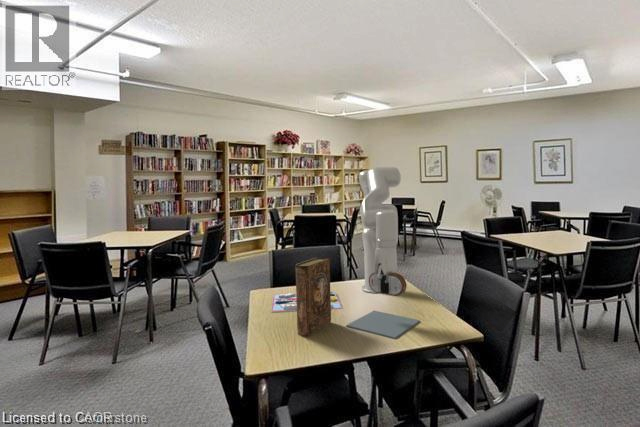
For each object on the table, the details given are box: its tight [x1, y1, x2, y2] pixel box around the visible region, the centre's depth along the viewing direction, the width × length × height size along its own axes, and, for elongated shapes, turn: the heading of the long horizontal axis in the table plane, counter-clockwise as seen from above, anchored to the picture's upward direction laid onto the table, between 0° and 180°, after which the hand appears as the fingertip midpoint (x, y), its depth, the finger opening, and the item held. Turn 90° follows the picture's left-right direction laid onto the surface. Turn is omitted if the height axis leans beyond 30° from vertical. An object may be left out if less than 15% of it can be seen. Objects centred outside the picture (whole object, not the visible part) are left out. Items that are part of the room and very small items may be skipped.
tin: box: [369, 272, 408, 297], centre depth 143 cm, size 15×3×8 cm, turn 51°
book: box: [295, 257, 332, 338], centre depth 139 cm, size 16×6×25 cm, turn 150°
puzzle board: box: [271, 291, 343, 314], centre depth 172 cm, size 30×23×3 cm
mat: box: [346, 310, 421, 340], centre depth 142 cm, size 20×20×1 cm
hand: (387, 291), depth 144 cm, fingers closed on tin, 2 cm apart
